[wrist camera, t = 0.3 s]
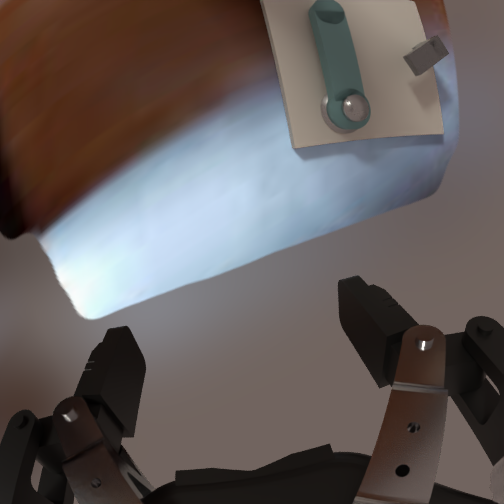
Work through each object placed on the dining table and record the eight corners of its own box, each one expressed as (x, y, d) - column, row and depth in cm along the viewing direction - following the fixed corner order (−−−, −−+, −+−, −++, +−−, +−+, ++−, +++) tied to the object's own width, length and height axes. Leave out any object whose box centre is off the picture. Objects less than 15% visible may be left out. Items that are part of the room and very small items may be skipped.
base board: (258, -6, 27) (259, -11, 25) (409, 4, 28) (414, 1, 27) (292, 148, 35) (295, 148, 34) (437, 133, 36) (443, 133, 35)
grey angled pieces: (340, 142, 34) (355, 144, 30) (310, 104, 32) (323, 100, 28) (436, 65, 31) (454, 62, 27) (414, 32, 29) (431, 26, 25)
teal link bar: (365, 127, 33) (373, 127, 31) (330, 131, 33) (336, 131, 31) (337, 4, 26) (344, -2, 24) (301, 3, 26) (305, -3, 24)
